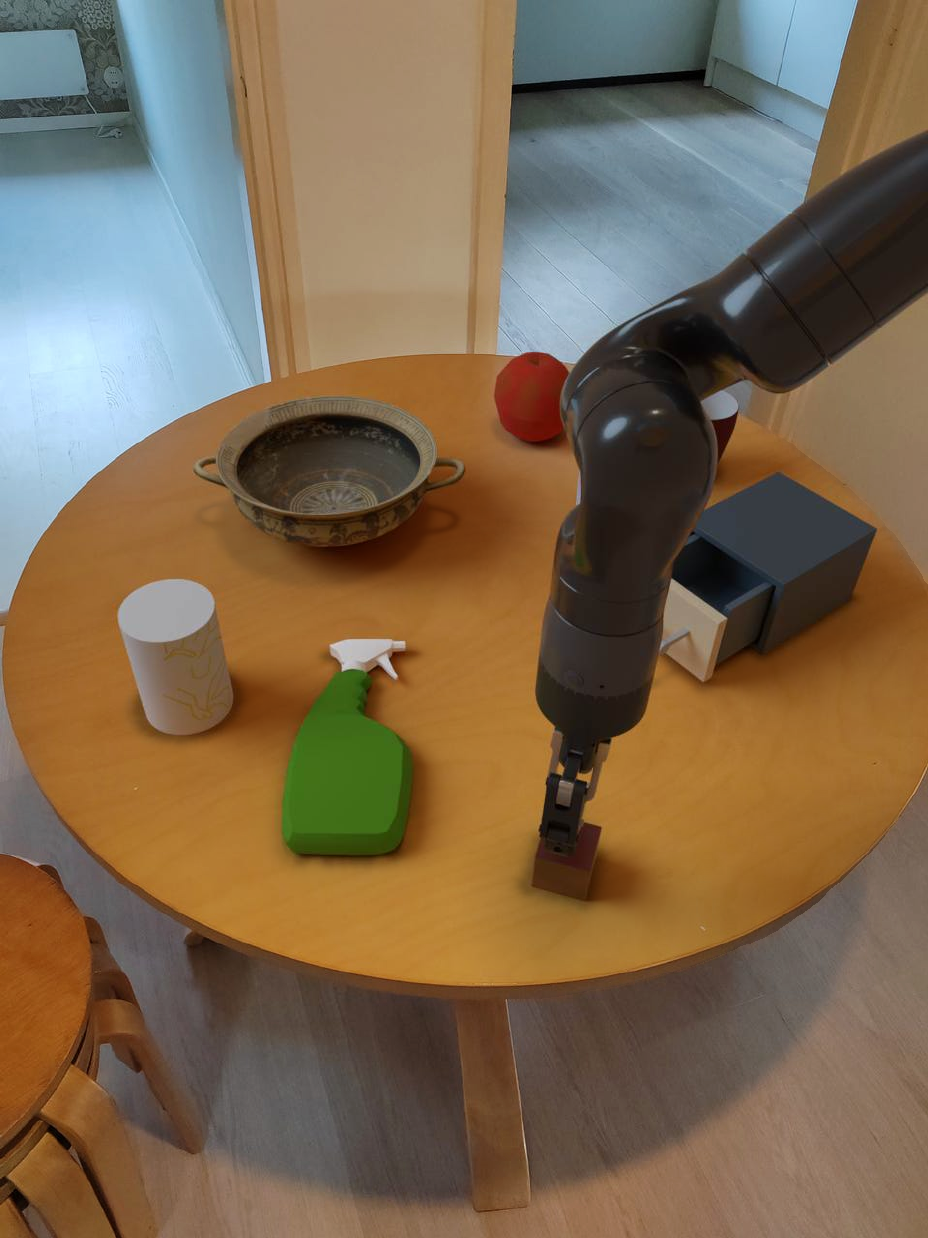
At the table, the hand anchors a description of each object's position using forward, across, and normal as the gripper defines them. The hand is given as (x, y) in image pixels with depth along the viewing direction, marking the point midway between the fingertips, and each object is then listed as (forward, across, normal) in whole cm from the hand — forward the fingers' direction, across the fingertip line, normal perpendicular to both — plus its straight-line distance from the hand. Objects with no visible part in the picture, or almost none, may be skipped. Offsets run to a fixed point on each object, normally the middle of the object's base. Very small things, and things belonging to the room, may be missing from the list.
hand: (572, 804), depth 74 cm
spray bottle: (+9, +7, +21) cm, 24 cm away
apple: (+9, +63, +19) cm, 67 cm away
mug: (+9, +60, -2) cm, 61 cm away
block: (+9, 0, 0) cm, 9 cm away
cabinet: (+9, +40, -12) cm, 43 cm away
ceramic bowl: (+10, +37, +36) cm, 53 cm away
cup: (+10, +7, +38) cm, 40 cm away
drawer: (+8, +31, -6) cm, 33 cm away
